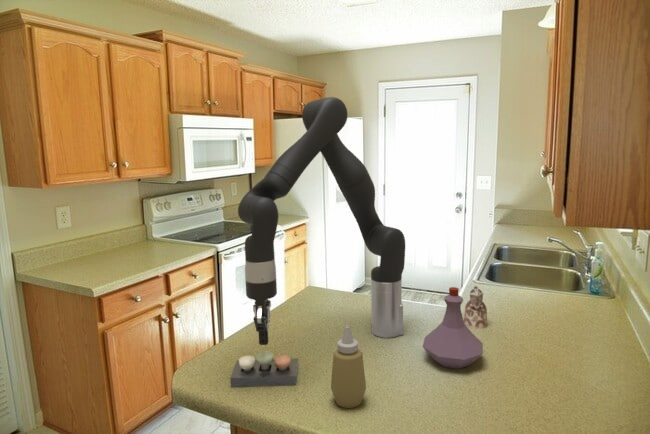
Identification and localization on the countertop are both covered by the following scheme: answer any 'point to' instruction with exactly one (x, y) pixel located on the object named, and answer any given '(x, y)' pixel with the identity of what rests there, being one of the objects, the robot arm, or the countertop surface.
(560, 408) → the countertop surface
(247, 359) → the ivory button
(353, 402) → the squeeze bottle
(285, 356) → the terracotta button
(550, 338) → the countertop surface
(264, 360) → the sage button
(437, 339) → the flask
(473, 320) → the figurine
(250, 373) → the panel
